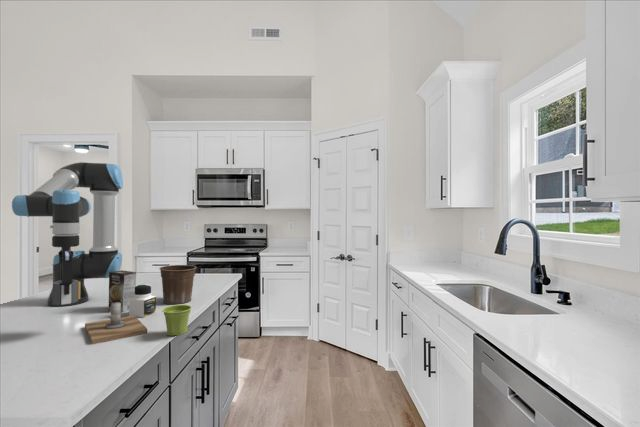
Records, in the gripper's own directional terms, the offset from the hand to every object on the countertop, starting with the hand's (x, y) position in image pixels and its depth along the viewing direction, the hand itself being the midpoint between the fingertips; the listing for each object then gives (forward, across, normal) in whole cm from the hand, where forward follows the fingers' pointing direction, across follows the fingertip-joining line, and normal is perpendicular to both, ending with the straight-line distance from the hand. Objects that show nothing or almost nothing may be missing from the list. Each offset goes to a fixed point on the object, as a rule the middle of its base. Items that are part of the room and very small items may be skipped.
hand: (65, 301), depth 117 cm
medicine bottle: (+11, -6, +26) cm, 29 cm away
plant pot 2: (+11, +25, +30) cm, 40 cm away
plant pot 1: (+12, -19, +44) cm, 49 cm away
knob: (0, 0, 0) cm, 0 cm away
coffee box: (+12, -20, +21) cm, 31 cm away
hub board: (+11, +9, +14) cm, 20 cm away
